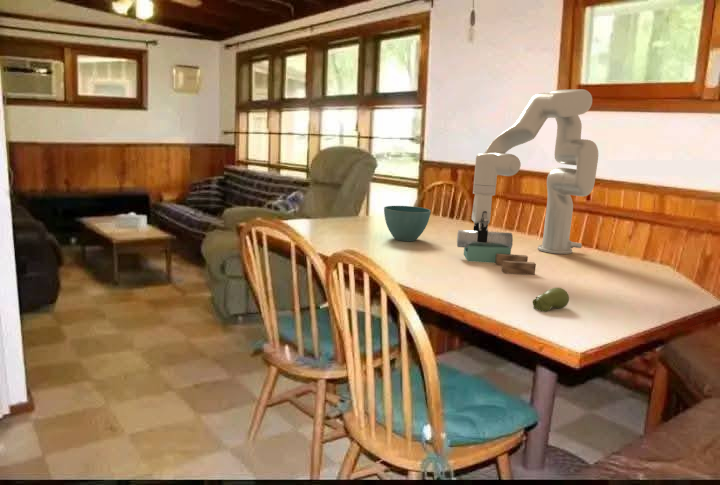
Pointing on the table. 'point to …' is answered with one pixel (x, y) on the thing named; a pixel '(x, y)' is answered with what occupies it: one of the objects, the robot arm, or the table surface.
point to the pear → (551, 299)
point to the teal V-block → (484, 253)
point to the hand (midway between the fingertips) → (479, 239)
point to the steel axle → (492, 239)
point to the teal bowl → (406, 221)
